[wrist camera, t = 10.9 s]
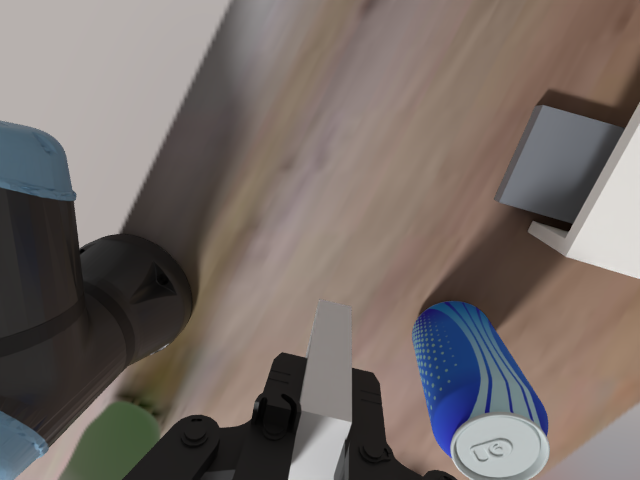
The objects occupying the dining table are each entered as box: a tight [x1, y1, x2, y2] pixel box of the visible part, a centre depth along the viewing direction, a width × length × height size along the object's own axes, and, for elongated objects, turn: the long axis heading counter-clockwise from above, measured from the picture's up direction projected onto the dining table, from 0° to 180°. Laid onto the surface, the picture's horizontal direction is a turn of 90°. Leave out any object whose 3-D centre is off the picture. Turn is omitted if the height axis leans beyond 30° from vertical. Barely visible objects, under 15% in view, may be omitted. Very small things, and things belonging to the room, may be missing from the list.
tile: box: [494, 105, 625, 224], centre depth 33 cm, size 14×9×2 cm, turn 75°
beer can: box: [412, 301, 550, 480], centre depth 32 cm, size 8×8×16 cm
